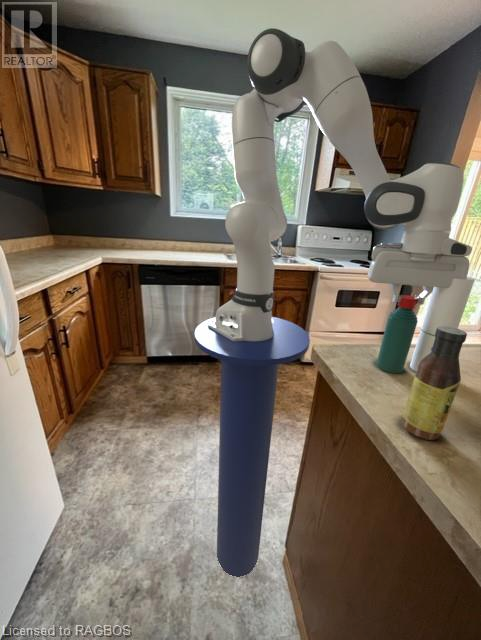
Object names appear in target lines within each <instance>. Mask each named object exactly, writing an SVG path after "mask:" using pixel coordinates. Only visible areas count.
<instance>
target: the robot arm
mask: <svg viewBox="0 0 481 640" xmlns="http://www.w3.org/2000/svg"><path fill="white" fill-rule="evenodd" d="M246 67H247V74H248V78H249V80H250V81H249V82H250V83H251V85H252V87H253V89H252V90H251V91H250V92H248V93H245V94H242V95H241V96H239V97H238V98H237V99H236V101H235V102H234V104H233V108H232V112H231V113H232V115H231V146H232V159H233V169H234V179H235V182H236V185H237V187H238V188H239V190H240V192H241V195H242V198H243V201H241V202H238V203H235V204H233V205H232V206H231V207H230V208H229V209H228V210H227V213H226V216H225V220H224V225H225V230H226V233H227V235H228V236H229V238H230V239H231V241H232V243H233V244H232V245H233V247H234V252H235V256H236V257H235V258H236V264H237V265H236V266H237V268H236V270H237V271H236V272H237V273H236V288H235V289H232V290H229V292H230V293H229V295H232V297H231V299H230V300H229V301H227V302H226V303H224V304H222V305H221V306H220V307H218V308H217V309H216V312H215V316H214V318H215V319H214V320H212V321H211V322H209V324H208V327H209V328H211V329H213V330H215V331H216V332H218V333H220V334H221V335H223V336H225V337H227V338H228V339H230V340H232V341H264V340H268V339H270V338H272V337H273V336H274V331H273V326H272V323H273V319H272V317H273V315H272V313H273V312H272V311H273V307H274V296H275V294H274V293H275V292H274V282H275V281H274V280H275V268H276V265H275V263H274V261H273V256H272V248H271V243H272V242H275V241H277V240H278V239H280V238H281V237H282V236H283V235H285V232H286V230H287V227H288V219H287V216H286V214H285V210H284V207H283V202H282V196H281V193H280V188H279V183H278V177H277V176H278V175H277V165H276V150H275V149H276V148H275V132H274V131H275V130H274V129H275V127H274V126H275V123H281V122H283V121H284V120H286V118H288V117H292V116H294V115H295V114H297V113H298V112H300V111H301V110H302V109H303V108H304V107H305V105H308V107H309V109H310V111H311V114H312V116H313V118H314V120H315V122H316V124H317V126H318V127H319V129H320V131H321V132H322V133H323V135H324V136H325V138H326V139H327V140H328V142H329V143H330V144H331V145H332V146H333V147H334V149H335V150H337V152H338V153H339V154H340V155H341V156H342V157H343V158H344V159H345V160H346V162H347V163H348V164H349V166H350V167H351V169H352V170H353V173H354V175H355V177H356V179H357V181H358V183H359V185H360V187H361V189H362V191H363V194H364V197H365V201H364V205H363V211H364V215H365V217H366V219H367V221H368V223H369V224H370V225H371V226H372V227H374V228H375V229H379V230H391V229H393V228H396V227H398V226H399V225H403V226H404V227H403V232H402V236H401V241H400V243H399V242H391V243H389V242H380V243H379V244H376V245H375V246H374V247H373V248H372V250H371V255H370V256H371V257H370V258H371V262H370V264H369V268H368V271H367V278H368V280H369V281H370V282H371V283H376V284H389V288H390V290H391V293H392V298H391V302H392V303H395V304H398V303H400V302H401V299H402V296H401V295H402V294H399V292H398V290H400V287H401V285H403V286H414V287H415V286H417V287H422V292H421V293H420V294H419V295H415V296H414V297H416V298H418V300H417V303H416V305H421V306H423V305H424V304H425V302H426V301H425V300H426V299H427V298H428V297H429V296H431V294H432V292H433V289H434V287H441V288H449V287H450V286H451V285H452V281H453V278H456V279H466V278H467V277H468V275H469V270H470V260H469V259H470V258H468V256H470V255H471V254H472V251H473V247H472V245H470V244H466V243H463V242H461V241H458V240H455V239H454V238H450V235H451V232H452V221H453V218H454V217H455V214H456V212H457V210H458V208H459V205H460V200H461V197H462V193H463V186H464V181H465V180H464V178H465V177H464V176H465V174H464V171H463V169H462V168H461V167H459V166H458V165H456V164H454V163H453V164H452V163H449V162H441V161H438V162H428V163H425V164H423V165H422V166H421V167H420V168H418V169H416V170H414V171H412V172H410V173H408V174H406V175H403V176H401V177H399V178H395V179H391V178H390V176H389V174H388V173H387V170H386V167H385V165H384V163H383V161H382V159H381V157H380V154H379V152H378V149H377V146H376V141H375V133H374V132H375V131H374V118H373V110H372V106H371V105H372V104H371V100H370V98H369V94H368V90H367V87H366V85H365V82H364V80H363V79H362V76H361V74H360V72H359V70H358V68H357V67H356V65H355V64H354V62H353V61H352V58H351V57H350V56H349V55H348V53H347V52H346V51H345V49H344V48H343V47H342V45H340V44H339V42H337V41H333V40H327V41H323V42H321V43H320V44H318V45H317V46H316V47H314V49H312V50H311V51H306V47H305V43H304V42H303V41H302V40H301V39H298V38H296V37H293V36H291V35H290V34H289V33H287V32H285V31H283V30H281V29H278V28H273V27H271V28H266V29H265V30H263V31H260V33H259V34H258V35H257V36H256V37H254V40H253V41H252V43H251V45H250V47H249V50H248V53H247V58H246Z"/></svg>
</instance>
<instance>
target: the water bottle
mask: <svg viewBox="0 0 481 640" xmlns="http://www.w3.org/2000/svg"><path fill="white" fill-rule="evenodd" d="M417 325H418V317H417V315H416V314H415V311H414V309H407V308H402V307H399V306H398V307H397V308H395V309H394V310H392V311H391V312H390V313H389V314H388V316H387V320H386V324H385V328H384V331H383V332H384V333H383V336H382V339H381V344H380V348H379V351H378V355H377V360H376V362H375V363H376V366H377V368H379V369H380V370H382V371H384V372H387V373H390V374H401V373H403V372H404V369H405V365H406V361H407V358H408V356H409V352H410V349H411V345H412V341H413V339H414V335H415V332H416V328H417Z"/></svg>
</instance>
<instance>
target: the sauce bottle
mask: <svg viewBox="0 0 481 640" xmlns="http://www.w3.org/2000/svg"><path fill="white" fill-rule="evenodd" d="M467 337H468V332H466V331H464V330H463V329H459V328H458V329H456V328H452V327H446V326H440V327H437V330H436V333H435V341H434V344H433V347H432V348H431V351H432V352H431V353H430V354H428V355H427V356H425V357H424V358H423V359H422V360H421V361H420V363H419V365H418V369H417V372H415V374H414V378H413V380H412V384H411V387H410V391H409V394H408V398H407V401H406V405H405V408H404V411H403V418H402V425H403V427H404V428H405V430H406V431H408V432H409V433H410V434H412V435H413V436H415V437H417V438H420V439H422V440H427V441H434V440H436V439H438V438H439V437H440V436H441V433H442V432H443V430H444V428H445V426H446V422H447V420H448V416H449V414H450V411H451V409H452V406H453V403H454V400H455V397H456V395H457V393H458V392H457V391H458V389H459V386H460V383H461V380H462V377H461V368H460V366H461V365H460V354H461V350H462V348H463V344H464V343H465V342H466V340H467Z"/></svg>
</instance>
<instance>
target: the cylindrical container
mask: <svg viewBox="0 0 481 640" xmlns="http://www.w3.org/2000/svg"><path fill="white" fill-rule="evenodd" d="M475 280H476V278H474V277H471V276H467V278H466V279H456V278H453V281H452V285H451V286H450V287H449V288H441V287H434V289H433V292H432V293H431V294H430V298H429V301H428V304H427V307H426V311H425V314H424V317H423V321H422V324H421V327H420V331H419V334H418V338H417V341H416V344H415V348H414V351H413V354H412V357H411V360H410V364H409V367H410V369H411V370H412V371H414V372H415V373H417V369H418V365H419V363H420V361H421V360H422V359H423V358H424V357H425V356H427V355H428V354H430V353H431V352H432V351H431V348H432V347H433V344H434V341H435V333H436V330H437V327H440V326H446V327H452V328H456V329H459V326H460V324H461V320H462V317H463V315H464V313H465V309H466V307H467V303H468V300H469V299H470V295H471V292H472V290H473V286H474V284H475Z"/></svg>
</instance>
